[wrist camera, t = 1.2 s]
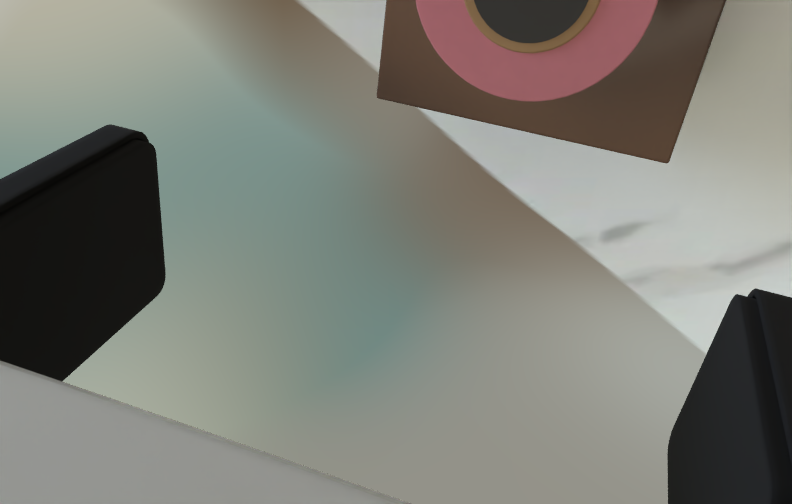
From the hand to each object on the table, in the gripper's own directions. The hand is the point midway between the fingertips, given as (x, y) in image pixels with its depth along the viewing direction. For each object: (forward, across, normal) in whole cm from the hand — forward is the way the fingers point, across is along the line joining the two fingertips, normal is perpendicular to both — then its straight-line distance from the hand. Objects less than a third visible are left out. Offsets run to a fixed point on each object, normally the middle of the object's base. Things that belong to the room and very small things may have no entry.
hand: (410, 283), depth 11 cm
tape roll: (+16, 0, -3) cm, 16 cm away
